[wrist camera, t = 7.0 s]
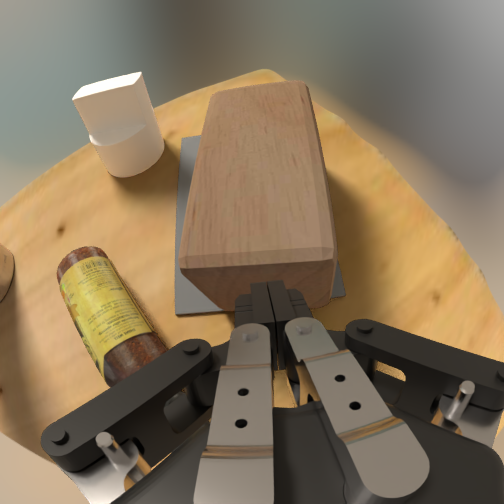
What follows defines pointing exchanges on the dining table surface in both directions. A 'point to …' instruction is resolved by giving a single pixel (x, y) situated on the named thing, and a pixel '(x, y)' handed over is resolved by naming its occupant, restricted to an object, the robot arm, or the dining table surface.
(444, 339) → the dining table surface
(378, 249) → the dining table surface
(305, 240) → the block
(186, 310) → the mat
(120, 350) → the sauce bottle
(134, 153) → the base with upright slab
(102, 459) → the robot arm
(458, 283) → the dining table surface
